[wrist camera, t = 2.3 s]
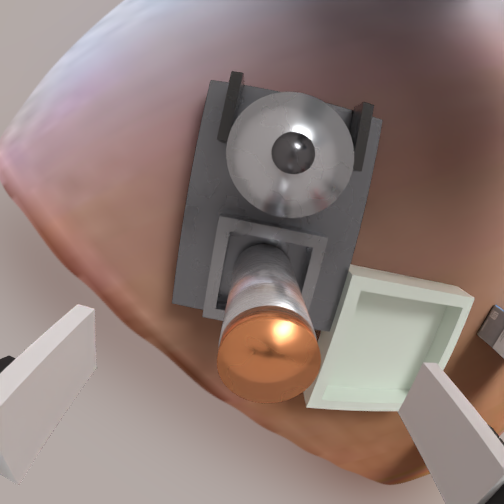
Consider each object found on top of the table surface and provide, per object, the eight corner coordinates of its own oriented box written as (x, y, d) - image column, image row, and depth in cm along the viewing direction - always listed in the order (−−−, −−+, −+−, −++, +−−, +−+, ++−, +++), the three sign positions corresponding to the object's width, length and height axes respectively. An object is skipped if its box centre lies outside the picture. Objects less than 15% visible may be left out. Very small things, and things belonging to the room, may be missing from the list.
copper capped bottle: (239, 238, 22) (224, 308, 11) (297, 250, 22) (335, 327, 11) (229, 293, 23) (209, 395, 12) (284, 303, 23) (305, 408, 12)
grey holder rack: (215, 84, 21) (203, 61, 16) (373, 121, 21) (403, 109, 16) (177, 293, 25) (159, 324, 20) (324, 320, 25) (339, 355, 20)
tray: (341, 262, 24) (352, 274, 21) (456, 286, 25) (474, 298, 22) (302, 386, 27) (306, 407, 24) (410, 392, 28) (421, 410, 25)
